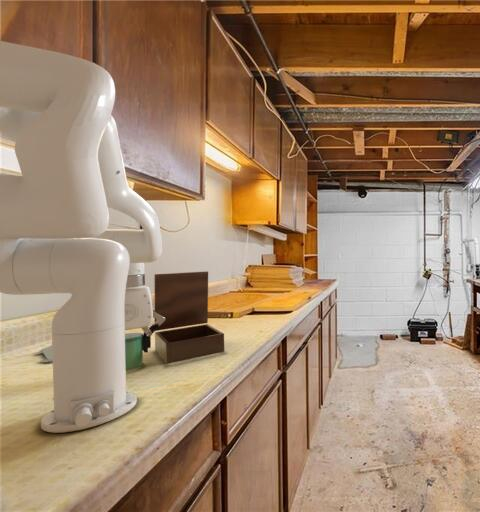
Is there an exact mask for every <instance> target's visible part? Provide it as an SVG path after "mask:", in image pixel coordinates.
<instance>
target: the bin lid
mask: <svg viewBox="0 0 480 512" xmlns="http://www.w3.org/2000/svg"><path fill="white" fill-rule="evenodd" d="M153 276H154V278H153V280H154V281H153V282H154V283H153V284H154V285H153V286H154V290H153V291H154V294H153V295H154V311H155V312H156V313H158V314H160V315H161V316H163V317H164V318H165V321H164V322H163V323H162V324H161V325H160V326H159V328H158V329H157V330H156V331H155V332H159V331H166V330H172V329H179V328H185V327H192V326H199V325H205V324H208V322H209V321H208V320H209V271H188V272H185V271H184V272H165V273H154V275H153ZM156 321H157V319H156V318H154V323H155V322H156Z"/></svg>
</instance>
